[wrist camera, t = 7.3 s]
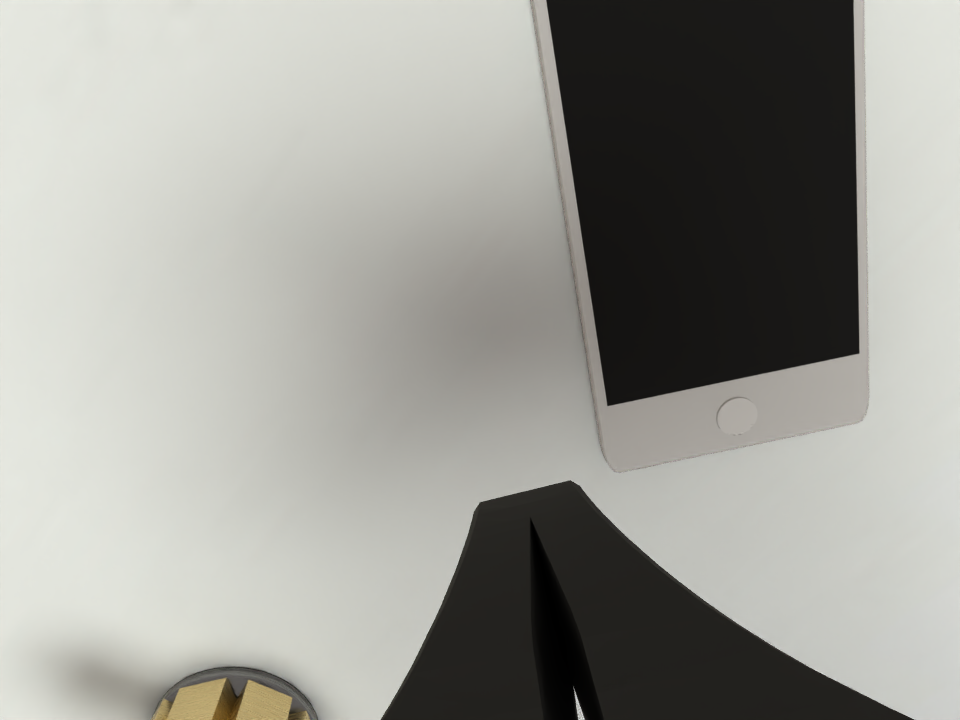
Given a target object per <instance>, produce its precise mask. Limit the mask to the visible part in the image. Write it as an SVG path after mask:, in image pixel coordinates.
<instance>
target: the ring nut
mask: <svg viewBox="0 0 960 720" xmlns="http://www.w3.org/2000/svg"><path fill="white" fill-rule="evenodd" d="M291 702H292V697H290V696H287V695H285V694H283V693H280V692H278V691H275V690H273V689H270V688H268V687H266V686H263V685H261V684H258V683H256V682H254V681H251V680H248V681H247V683H246V684H245V686H244V687H243V689H242V690H241V692H240V694H239V695H238V697H237V698H236V697H235V695H234V693H233V691H232V688H231V686H230V684H229V682H228V680H227V678H223V679H218V680H214V681H209V682H205V683H201V684H196V685H192V686H188V687H183V688H180V689H179V691H178V693H177V696H176V698H175V701H174V703H173V702H170V701H168V700H165V699H163V701H162V702H161V704H160V706H159V707H158V709H157V711H156V712H155V714H154V716H153V717H152V719H151V720H310V718H309V716H308V713H307V711H302V712H297V713H293V714H289V711H290V706H291Z"/></svg>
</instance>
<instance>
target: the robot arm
mask: <svg viewBox="0 0 960 720" xmlns="http://www.w3.org/2000/svg"><path fill="white" fill-rule="evenodd" d="M573 686H574V687H573ZM574 689H575V692H576V695H577V698H578V701H579V704H580V706H581V709H582V712H583V715H584V718H585V720H914V719H912V718H910V717H908V716H905V715H903V714H901V713H899V712H897V711H895V710H893V709H890V708H888V707H886V706H884V705H883V704H881V703H879V702H877V701H875V700H873V699H871V698H869V697H867V696H865V695H863V694H861V693H859V692H857V691H855V690H853V689H851V688H849V687H847V686H845V685H843V684H841V683H839V682H837V681H835V680H833V679H831V678H829V677H827V676H825V675H823V674H821V673H819V672H817V671H815V670H813V669H811V668H810V667H808V666H806V665H804V664H803V663H801V662H799V661H798V660H796V659H794V658H792V657H791V656H789V655H787V654H785V653H784V652H782V651H780V650H779V649H777V648H775V647H773V646H772V645H770V644H769V643H767V642H765V641H764V640H762V639H761V638H759V637H758V636H756V635H754V634H753V633H751V632H750V631H748V630H746V629H745V628H743V627H742V626H740V625H739V624H737V623H736V622H734V621H733V620H731V619H730V618H728V617H727V616H725V615H724V614H722V613H721V612H719V611H718V610H717V609H715V608H714V607H712V606H711V605H710V604H708V603H707V602H705V601H704V600H703V599H701V598H700V597H699V596H697V595H696V594H695V593H693V592H692V591H691V590H689V589H688V588H687V587H686V586H684V585H683V584H682V583H680V582H679V581H678V580H676V579H675V578H674V577H673V576H671V575H670V574H669V573H668V572H666V571H665V570H664V569H663V568H662V567H660V566H659V565H658V564H657V563H656V562H654V561H653V560H652V559H651V558H650V557H649V556H648V555H646V554H645V553H644V552H643V551H642V550H641V549H640V548H639V547H637V546H636V545H635V544H634V543H633V542H632V541H631V540H629V539H628V538H627V537H626V536H625V535H624V534H623V533H622V532H621V531H620V530H619V529H618V528H617V527H616V526H615V525H614V524H613V523H612V522H611V521H610V520H609V519H608V518H607V517H606V516H605V515H604V514H603V513H602V512H601V511H600V510H599V509H598V508H597V507H596V505H595V504H594V503H593V502H592V501H591V500H590V499H589V497H588V496H587V495H586V494H585V492H584V491H583V490H582V488H581V487H580V486H579V485H577V484H576V483H574V482H572V481H571V480H570V481H566V482H562V483H558V484H553V485H549V486H545V487H541V488H537V489H533V490H529V491H525V492H521V493H517V494H512V495H508V496H504V497H500V498H496V499H492V500H488V501H484V502H480V503H479V505H478V506H477V508H476V509H475V511H474V514H473V518H472V522H471V526H470V529H469V533H468V536H467V539H466V542H465V545H464V548H463V551H462V554H461V557H460V560H459V562H458V565H457V568H456V570H455V573H454V575H453V578H452V580H451V583H450V585H449V588H448V590H447V592H446V595H445V597H444V600H443V602H442V605H441V607H440V609H439V612H438V614H437V616H436V618H435V620H434V622H433V624H432V626H431V628H430V630H429V632H428V634H427V636H426V638H425V640H424V642H423V645H422V647H421V649H420V651H419V653H418V655H417V657H416V659H415V661H414V663H413V665H412V667H411V668H410V670H409V672H408V674H407V676H406V678H405V679H404V681H403V683H402V685H401V687H400V688H399V690H398V692H397V694H396V695H395V697H394V699H393V700H392V702H391V704H390V706H389V707H388V709H387V710H386V712H385V714H384V715H383V717H382V718H381V720H578V716H577V709H576V701H575V694H574Z"/></svg>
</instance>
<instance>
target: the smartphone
mask: <svg viewBox="0 0 960 720" xmlns="http://www.w3.org/2000/svg"><path fill="white" fill-rule="evenodd" d="M531 6H532V13H533V19H534V25H535V32H536V38H537V44H538V51H539V57H540V63H541V70H542V76H543V82H544V89H545V95H546V101H547V108H548V114H549V121H550V127H551V133H552V140H553V146H554V152H555V159H556V165H557V171H558V178H559V184H560V190H561V197H562V203H563V209H564V216H565V222H566V229H567V235H568V241H569V248H570V254H571V260H572V267H573V273H574V279H575V286H576V292H577V298H578V305H579V311H580V317H581V324H582V330H583V337H584V343H585V349H586V356H587V362H588V368H589V375H590V381H591V387H592V394H593V400H594V406H595V413H596V419H597V425H598V432H599V438H600V445H601V448H602V452H603V455H604V457H605V459H606V461H607V463H608V465H609V467H610V468H611V469H612V470H613V471H614V472H618V473H621V472H626V471H630V470H635V469H640V468H645V467H650V466H654V465H659V464H664V463H669V462H674V461H678V460H683V459H688V458H693V457H698V456H702V455H707V454H712V453H717V452H722V451H726V450H731V449H736V448H741V447H746V446H750V445H755V444H760V443H765V442H770V441H774V440H779V439H784V438H789V437H794V436H798V435H803V434H808V433H813V432H818V431H822V430H827V429H832V428H837V427H842V426H846V425H851V424H856V423H859V422H860V421H862V420H863V418H864V417H865V415H866V412H867V409H868V404H869V352H868V272H867V191H866V110H865V29H864V0H531Z"/></svg>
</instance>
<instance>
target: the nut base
mask: <svg viewBox="0 0 960 720" xmlns="http://www.w3.org/2000/svg"><path fill="white" fill-rule="evenodd" d="M223 678H227V680H228V682H229V684H230V686H231V688H232V691H233V693H234V695H235V697H236V698H237V697H238V695H239V694H240V692H241V690H242V689H243V687H244V686H245V684H246V683H247V681H248V680H251V681H254V682H256V683H258V684H261V685H263V686H266V687H268V688H270V689H273V690H275V691H278V692H280V693H283V694H285V695H287V696H290V697H292V702H291V706H290V711H289V714H293V713H297V712H302V711H307V713H308V716H309V718H310V720H318V719H317V716H316V713H315V711H314V709H313V707H312V706H311V704H310V703H309V702H308V700H307V699H306V698H305V697H304V696H303V695H302V694H301V693H300V692H299V691H298V690H297V689H296V688H294V687H293V686H292V685H290V684H289V683H287V682H285V681H284V680H282V679H280V678H278V677H276V676H274V675H271V674H268V673H265V672H262V671H257V670H253V669H246V668H230V667H229V668H217V669H212V670H207V671H203V672H200V673H197V674H194V675H192V676H190V677H187V678H186V679H184V680H182V681H180V682H179V683H177V684H176V685H175V686H174V687H172V688H171V689H170V690H169V691H168V692H167V693H166V694H165V695H164V697H163V698H162V699H161V701H160V702H159V704H158V706H157V708H156V711H157V709H158V707H159V706H160V704H161V702H162V701H163V699H165V700H168V701H170V702H173V703H174V701H175V698H176V696H177V693H178V691H179V689H180V688H183V687H188V686H192V685H196V684H201V683H205V682H209V681H214V680H218V679H223ZM156 711H155V712H156ZM154 714H155V713H154ZM153 716H154V715H153Z"/></svg>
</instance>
